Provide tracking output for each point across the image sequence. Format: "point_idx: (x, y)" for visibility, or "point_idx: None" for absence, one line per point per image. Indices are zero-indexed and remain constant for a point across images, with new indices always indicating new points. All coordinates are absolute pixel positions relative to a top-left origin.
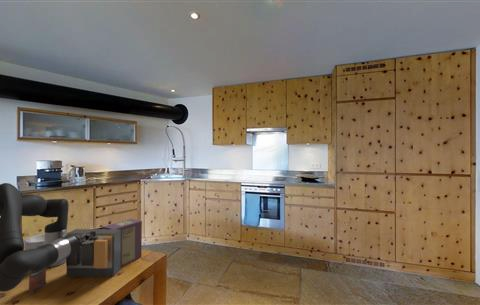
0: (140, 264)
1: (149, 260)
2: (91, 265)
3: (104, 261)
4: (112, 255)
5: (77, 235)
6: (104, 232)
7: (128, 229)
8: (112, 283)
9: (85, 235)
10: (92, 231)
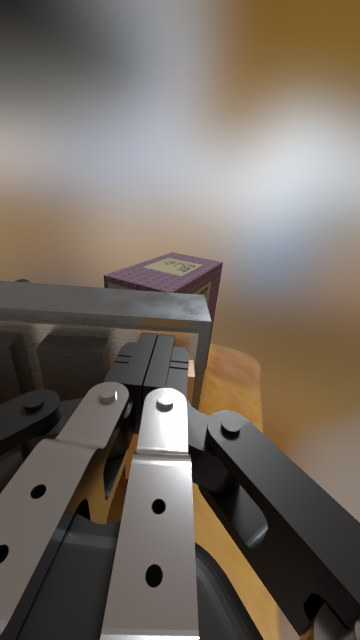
0: (231, 399)
1: (242, 381)
2: None
3: None
4: None
5: (15, 515)
6: (149, 311)
7: (200, 291)
8: (217, 532)
9: (191, 499)
10: (152, 336)
